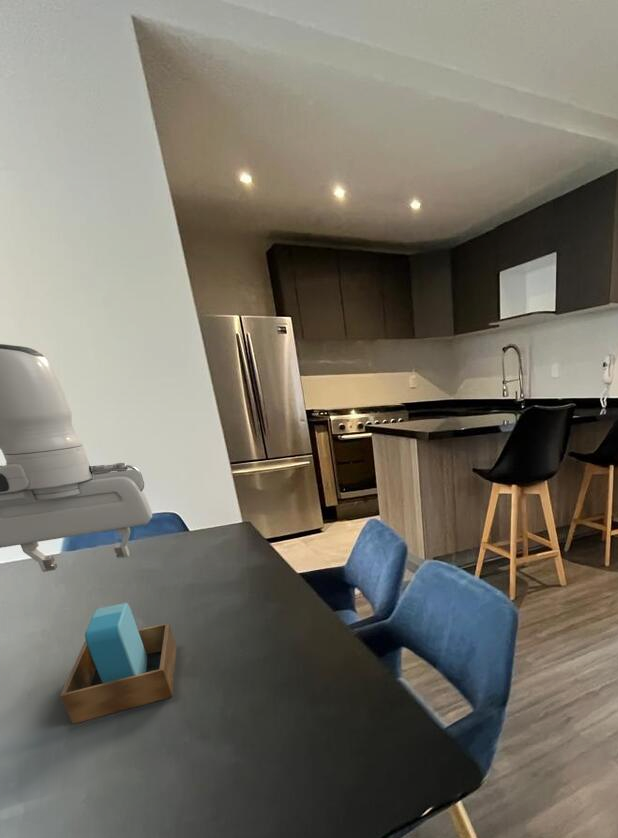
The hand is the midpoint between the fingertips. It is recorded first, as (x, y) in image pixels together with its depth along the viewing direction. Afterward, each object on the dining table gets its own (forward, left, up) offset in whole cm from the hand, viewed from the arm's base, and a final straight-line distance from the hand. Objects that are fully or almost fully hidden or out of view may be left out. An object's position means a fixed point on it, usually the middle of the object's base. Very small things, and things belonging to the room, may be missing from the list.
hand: (87, 563), depth 74 cm
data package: (0, 0, -21) cm, 21 cm away
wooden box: (0, 0, -21) cm, 21 cm away
